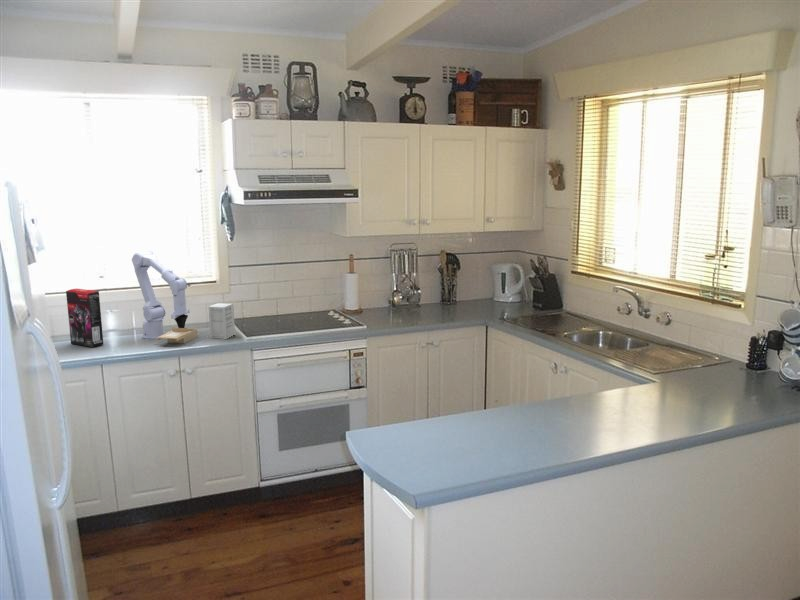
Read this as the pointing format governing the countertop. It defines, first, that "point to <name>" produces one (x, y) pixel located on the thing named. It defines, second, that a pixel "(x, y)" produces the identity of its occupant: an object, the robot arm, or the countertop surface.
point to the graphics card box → (84, 317)
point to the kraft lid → (176, 334)
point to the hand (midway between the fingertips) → (181, 329)
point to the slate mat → (189, 343)
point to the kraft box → (185, 339)
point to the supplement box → (221, 320)
